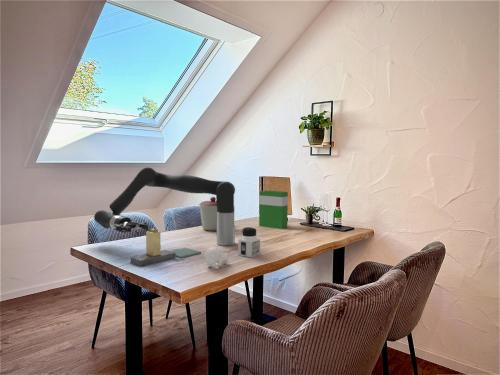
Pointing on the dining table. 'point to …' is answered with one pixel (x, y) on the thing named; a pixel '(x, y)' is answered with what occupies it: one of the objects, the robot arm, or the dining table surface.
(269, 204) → the green cereal box
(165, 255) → the plane body
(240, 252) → the container
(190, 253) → the mat
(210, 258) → the white humped figurine
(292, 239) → the dining table surface
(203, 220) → the canister
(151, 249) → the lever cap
